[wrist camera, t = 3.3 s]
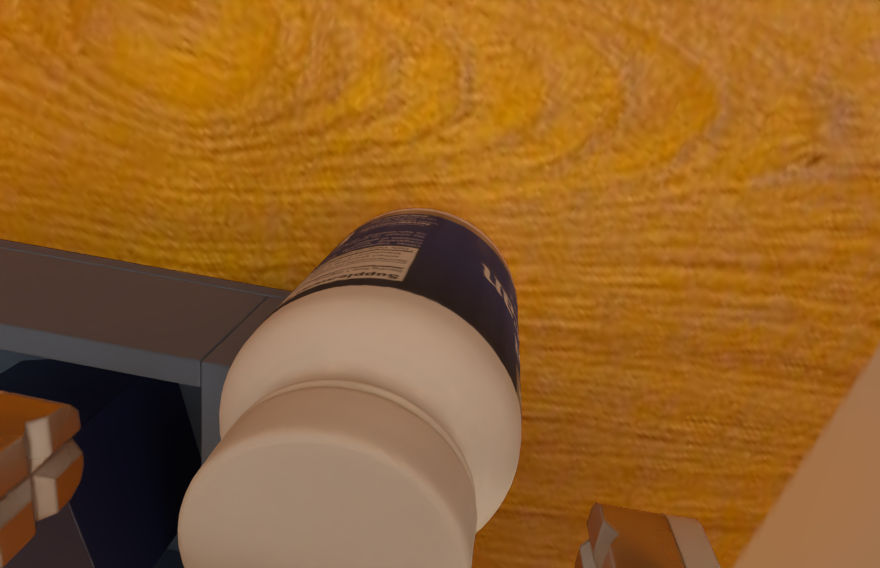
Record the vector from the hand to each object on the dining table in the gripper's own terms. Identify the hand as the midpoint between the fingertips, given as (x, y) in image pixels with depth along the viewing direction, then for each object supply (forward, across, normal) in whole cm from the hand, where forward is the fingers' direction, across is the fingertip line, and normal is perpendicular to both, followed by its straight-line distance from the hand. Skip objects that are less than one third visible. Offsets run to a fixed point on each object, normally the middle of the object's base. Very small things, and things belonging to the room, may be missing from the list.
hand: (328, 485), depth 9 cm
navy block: (+8, +8, +6) cm, 13 cm away
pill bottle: (+8, 0, 0) cm, 8 cm away
